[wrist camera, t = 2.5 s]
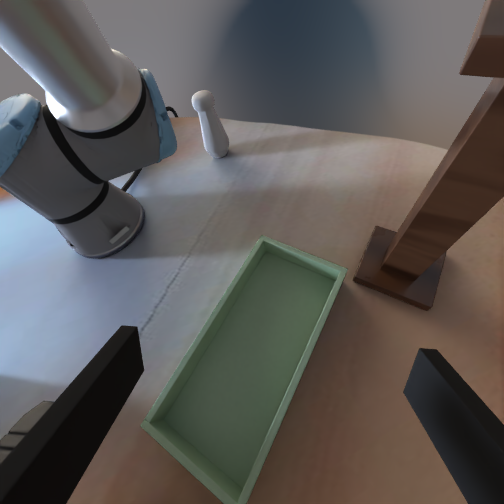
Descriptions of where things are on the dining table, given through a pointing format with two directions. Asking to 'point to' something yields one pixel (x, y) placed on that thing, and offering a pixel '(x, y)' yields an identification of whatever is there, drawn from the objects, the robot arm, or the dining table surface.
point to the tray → (245, 368)
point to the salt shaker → (210, 125)
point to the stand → (448, 184)
